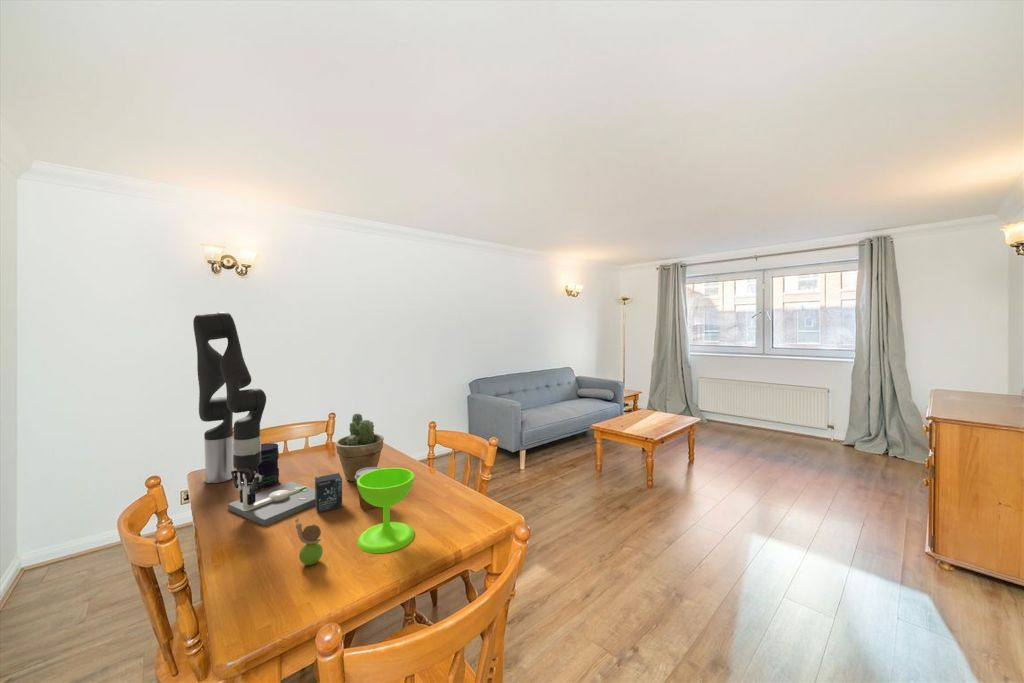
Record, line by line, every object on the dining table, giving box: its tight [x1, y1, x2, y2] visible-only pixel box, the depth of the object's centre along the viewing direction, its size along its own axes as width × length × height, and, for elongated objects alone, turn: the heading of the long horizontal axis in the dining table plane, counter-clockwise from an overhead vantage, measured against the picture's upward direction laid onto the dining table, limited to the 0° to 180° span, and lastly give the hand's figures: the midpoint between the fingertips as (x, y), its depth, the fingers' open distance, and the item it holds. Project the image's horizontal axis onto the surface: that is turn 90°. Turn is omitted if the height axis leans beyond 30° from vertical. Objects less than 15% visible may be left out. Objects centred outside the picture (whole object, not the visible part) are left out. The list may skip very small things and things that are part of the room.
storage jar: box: [250, 442, 280, 490], centre depth 153 cm, size 10×10×15 cm
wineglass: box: [356, 467, 415, 554], centre depth 115 cm, size 16×16×18 cm
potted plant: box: [335, 413, 385, 483], centre depth 161 cm, size 18×19×25 cm
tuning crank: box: [242, 483, 308, 511], centre depth 136 cm, size 22×6×8 cm, turn 151°
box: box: [314, 472, 343, 514], centre depth 134 cm, size 8×6×11 cm
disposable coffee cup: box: [355, 466, 383, 510], centre depth 136 cm, size 10×10×12 cm
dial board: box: [227, 481, 315, 527], centre depth 137 cm, size 22×22×2 cm
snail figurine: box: [295, 517, 324, 566], centre depth 102 cm, size 5×6×12 cm
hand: (247, 502), depth 127 cm, fingers closed on tuning crank, 3 cm apart
